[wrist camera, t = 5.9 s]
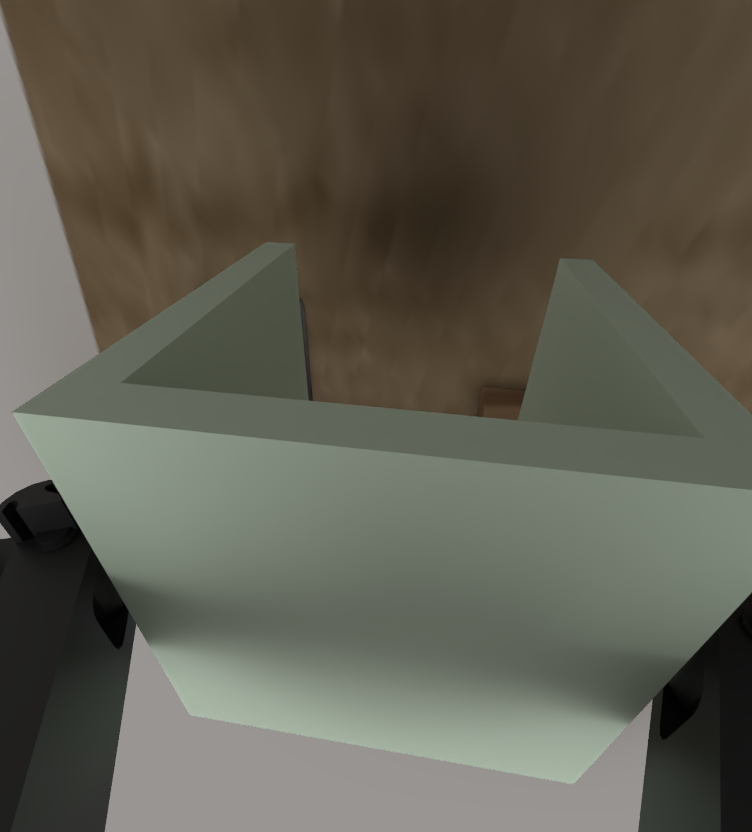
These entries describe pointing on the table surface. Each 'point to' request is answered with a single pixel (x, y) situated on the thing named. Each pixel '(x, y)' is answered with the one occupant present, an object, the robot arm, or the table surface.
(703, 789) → the robot arm
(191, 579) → the sage cover
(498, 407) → the walnut block
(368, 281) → the table surface
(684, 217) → the table surface
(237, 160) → the table surface
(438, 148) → the table surface
